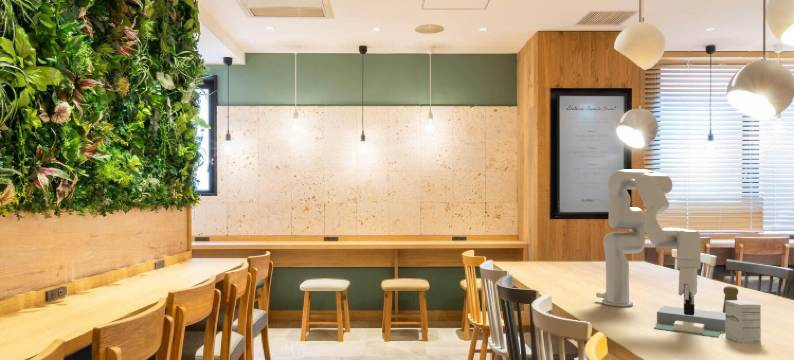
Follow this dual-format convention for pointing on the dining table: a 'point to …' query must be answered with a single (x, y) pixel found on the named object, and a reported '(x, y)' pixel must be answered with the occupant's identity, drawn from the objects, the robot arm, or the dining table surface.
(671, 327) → the mat
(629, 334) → the dining table surface
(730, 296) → the cork
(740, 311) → the supplement box
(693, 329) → the card
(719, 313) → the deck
